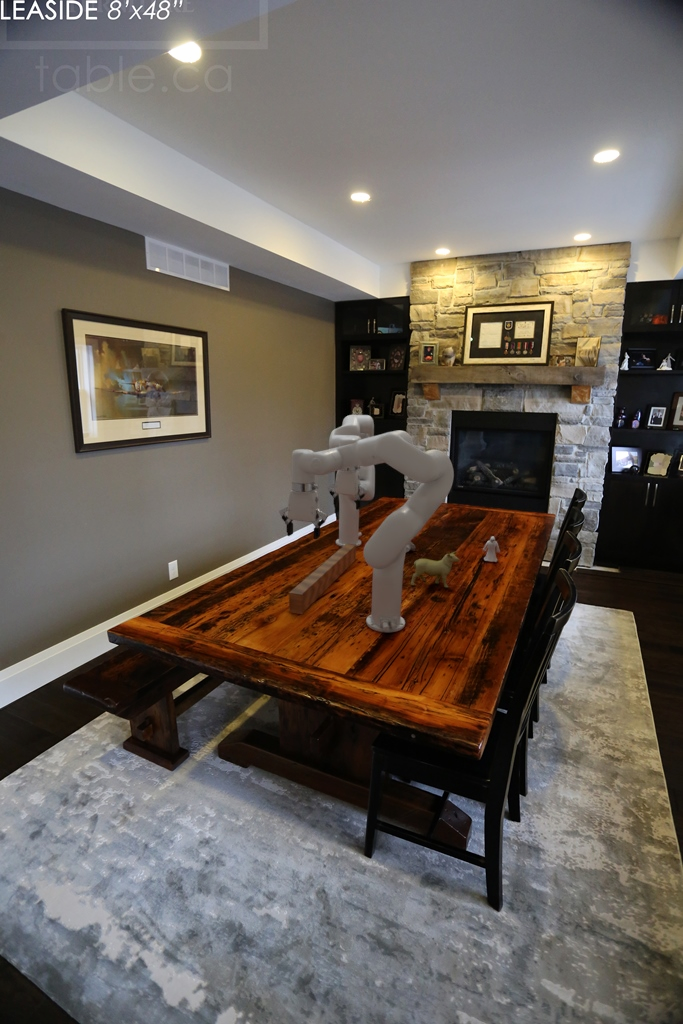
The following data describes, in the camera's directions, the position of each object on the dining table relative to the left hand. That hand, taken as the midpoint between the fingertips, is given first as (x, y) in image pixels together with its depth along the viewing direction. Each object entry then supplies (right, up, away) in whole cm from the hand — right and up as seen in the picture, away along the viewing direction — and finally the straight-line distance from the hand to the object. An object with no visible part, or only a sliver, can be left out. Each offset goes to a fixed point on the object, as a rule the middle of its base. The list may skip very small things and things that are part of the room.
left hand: (347, 507), depth 211 cm
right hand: (-15, -10, -42) cm, 45 cm away
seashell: (+28, -20, +24) cm, 43 cm away
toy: (+34, -31, -16) cm, 48 cm away
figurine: (+65, -24, +14) cm, 70 cm away
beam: (-8, -29, -15) cm, 34 cm away
